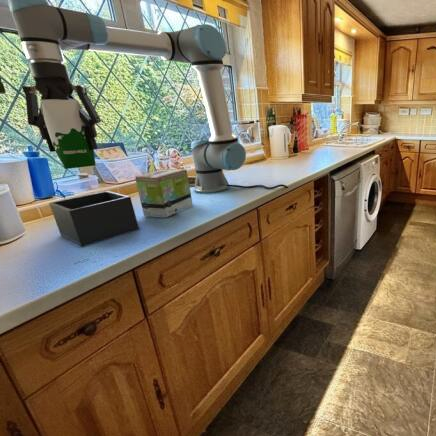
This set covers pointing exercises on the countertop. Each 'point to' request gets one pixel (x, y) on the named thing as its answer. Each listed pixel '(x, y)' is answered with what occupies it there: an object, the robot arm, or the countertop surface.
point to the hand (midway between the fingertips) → (74, 150)
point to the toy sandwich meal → (191, 180)
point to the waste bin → (94, 217)
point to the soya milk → (67, 132)
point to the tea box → (164, 192)
